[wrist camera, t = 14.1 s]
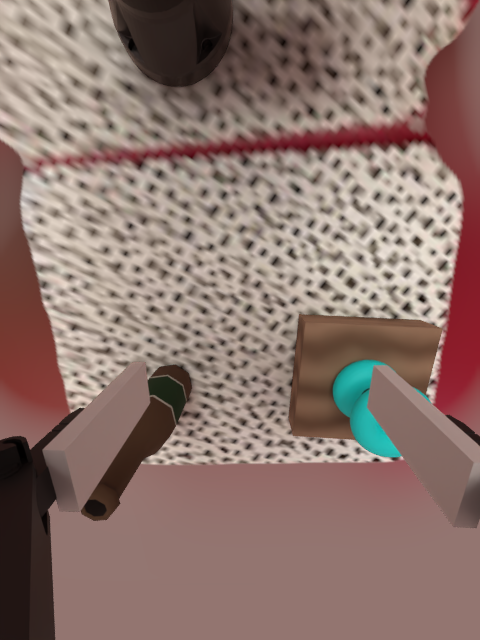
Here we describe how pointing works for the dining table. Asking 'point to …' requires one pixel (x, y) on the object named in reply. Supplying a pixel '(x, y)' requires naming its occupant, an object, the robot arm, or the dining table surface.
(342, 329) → the walnut stand
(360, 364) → the donuts
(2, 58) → the dining table surface
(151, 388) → the beer bottle
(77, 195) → the dining table surface
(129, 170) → the dining table surface
